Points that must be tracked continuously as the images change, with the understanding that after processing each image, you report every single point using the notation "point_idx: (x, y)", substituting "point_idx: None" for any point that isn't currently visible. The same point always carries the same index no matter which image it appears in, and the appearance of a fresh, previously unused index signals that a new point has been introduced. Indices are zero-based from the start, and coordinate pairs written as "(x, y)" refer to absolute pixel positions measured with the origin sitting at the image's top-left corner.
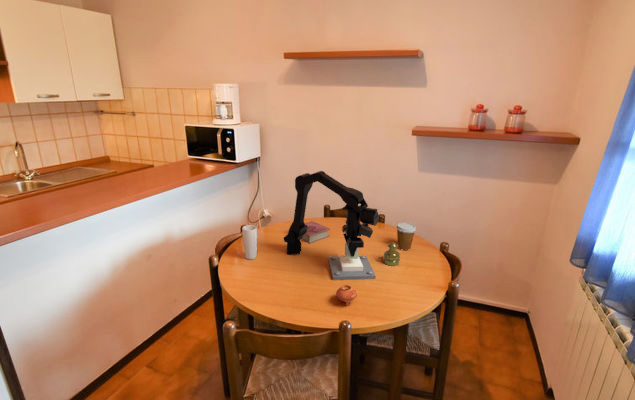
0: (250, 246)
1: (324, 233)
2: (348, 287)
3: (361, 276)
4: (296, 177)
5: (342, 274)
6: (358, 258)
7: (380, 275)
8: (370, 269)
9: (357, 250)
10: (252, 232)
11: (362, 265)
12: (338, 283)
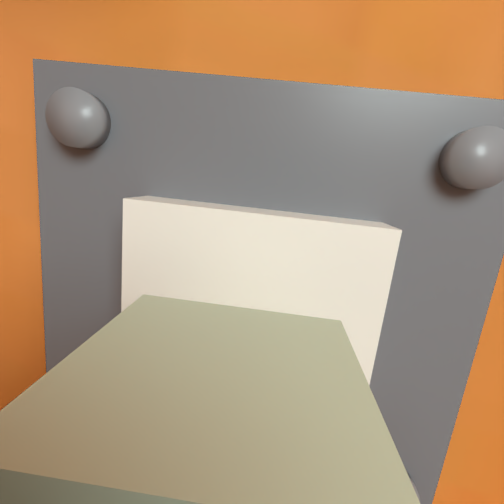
0: None
1: None
2: None
3: (495, 277)
4: None
5: (404, 444)
6: (169, 221)
7: (457, 21)
8: (377, 119)
9: (392, 478)
10: None
11: (369, 230)
12: (476, 473)
